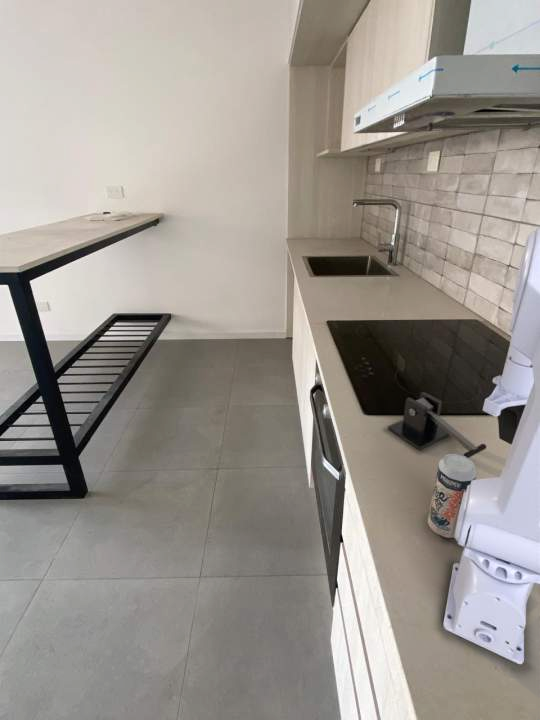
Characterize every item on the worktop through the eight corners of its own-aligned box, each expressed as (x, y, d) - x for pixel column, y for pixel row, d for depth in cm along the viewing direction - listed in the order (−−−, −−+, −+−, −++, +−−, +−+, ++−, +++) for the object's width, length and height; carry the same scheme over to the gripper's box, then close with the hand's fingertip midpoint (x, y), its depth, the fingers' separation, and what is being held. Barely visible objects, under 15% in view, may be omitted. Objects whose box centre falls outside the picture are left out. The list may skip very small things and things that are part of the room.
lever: (483, 452, 70) (489, 443, 69) (465, 462, 68) (470, 453, 66) (424, 404, 79) (428, 395, 78) (406, 411, 77) (410, 402, 76)
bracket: (450, 436, 78) (457, 402, 75) (418, 451, 74) (424, 416, 71) (418, 417, 84) (423, 385, 81) (387, 430, 80) (391, 397, 77)
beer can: (420, 520, 60) (431, 457, 55) (444, 510, 61) (457, 448, 56) (444, 545, 56) (459, 479, 51) (469, 533, 57) (486, 468, 52)
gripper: (530, 339, 61) (510, 413, 67) (471, 361, 54) (454, 442, 60) (582, 355, 55) (555, 434, 61) (522, 382, 49) (498, 468, 54)
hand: (507, 440), depth 60 cm, fingers closed
